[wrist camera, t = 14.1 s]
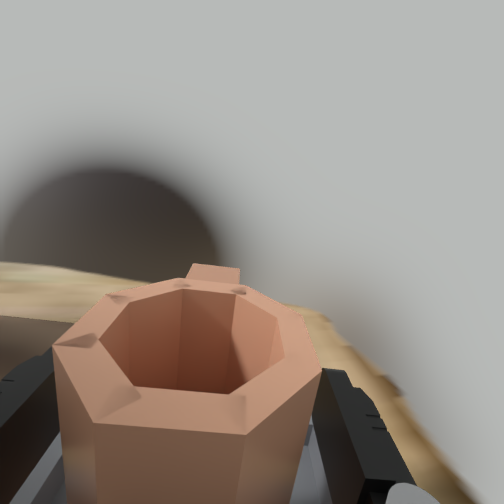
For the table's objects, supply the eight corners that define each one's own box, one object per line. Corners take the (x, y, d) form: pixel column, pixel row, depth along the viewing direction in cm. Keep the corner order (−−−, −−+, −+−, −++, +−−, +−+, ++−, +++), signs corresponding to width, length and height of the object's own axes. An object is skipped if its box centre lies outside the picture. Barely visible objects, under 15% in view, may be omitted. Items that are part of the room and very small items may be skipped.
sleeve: (255, 745, 8) (348, 443, 4) (45, 742, 7) (-21, 413, 4) (251, 474, 14) (286, 274, 11) (141, 466, 14) (144, 258, 11)
